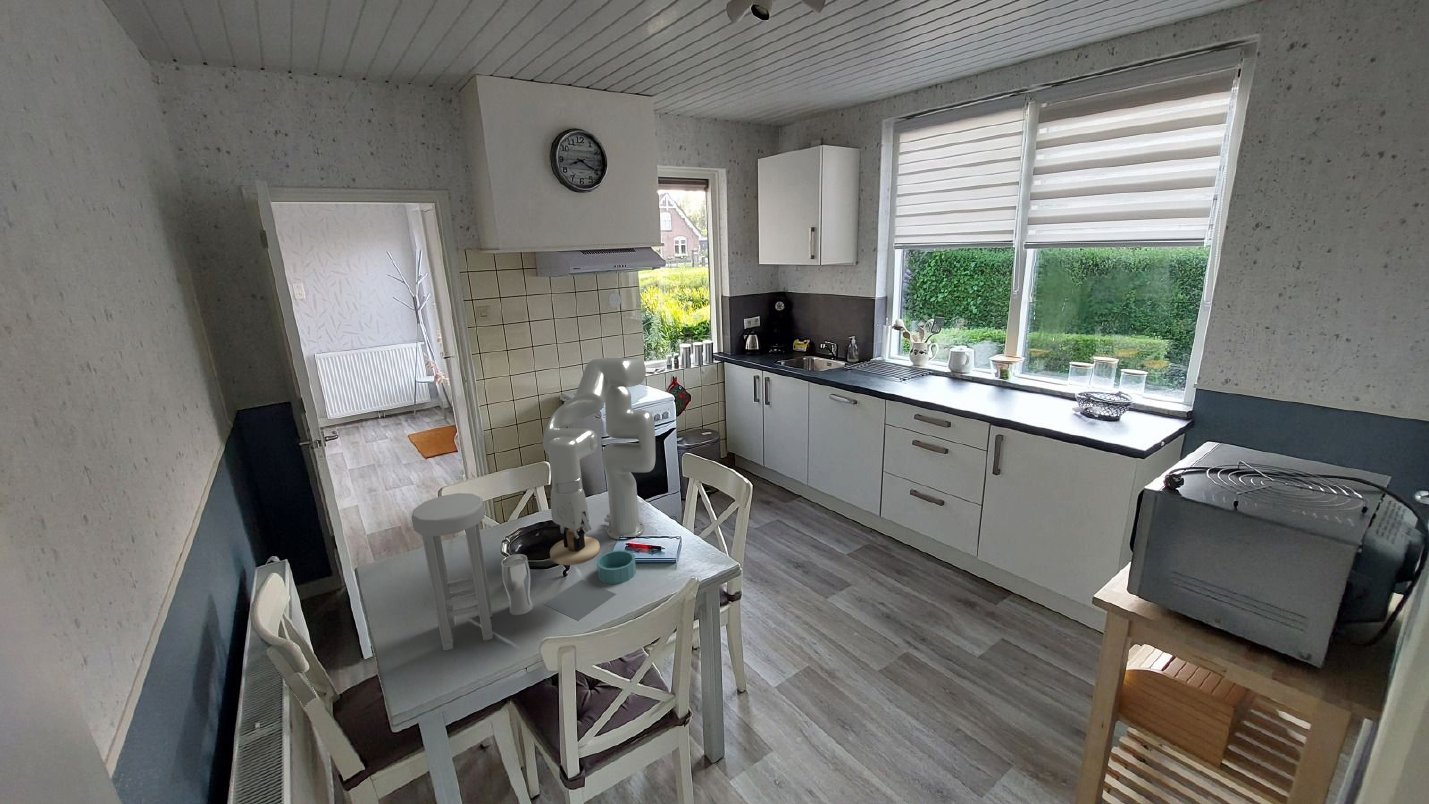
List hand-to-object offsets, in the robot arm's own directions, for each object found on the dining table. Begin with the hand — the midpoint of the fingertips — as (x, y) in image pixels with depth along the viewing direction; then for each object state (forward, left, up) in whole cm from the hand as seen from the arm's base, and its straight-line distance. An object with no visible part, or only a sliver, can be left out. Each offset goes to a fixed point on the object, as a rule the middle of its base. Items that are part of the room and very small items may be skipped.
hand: (574, 546), depth 156 cm
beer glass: (-10, -12, -17) cm, 23 cm away
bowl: (0, +15, -16) cm, 22 cm away
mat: (0, 0, -16) cm, 16 cm away
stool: (-14, -25, -17) cm, 33 cm away
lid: (0, 0, -2) cm, 2 cm away
